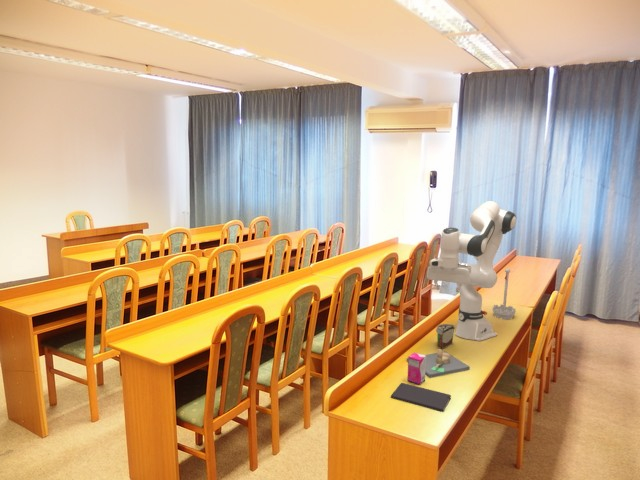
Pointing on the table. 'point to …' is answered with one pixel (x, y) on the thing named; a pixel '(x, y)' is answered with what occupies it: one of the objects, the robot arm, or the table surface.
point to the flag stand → (504, 303)
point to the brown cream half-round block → (445, 335)
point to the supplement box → (416, 368)
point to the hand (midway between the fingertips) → (447, 290)
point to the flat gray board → (443, 366)
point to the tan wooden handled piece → (442, 358)
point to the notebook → (421, 396)
